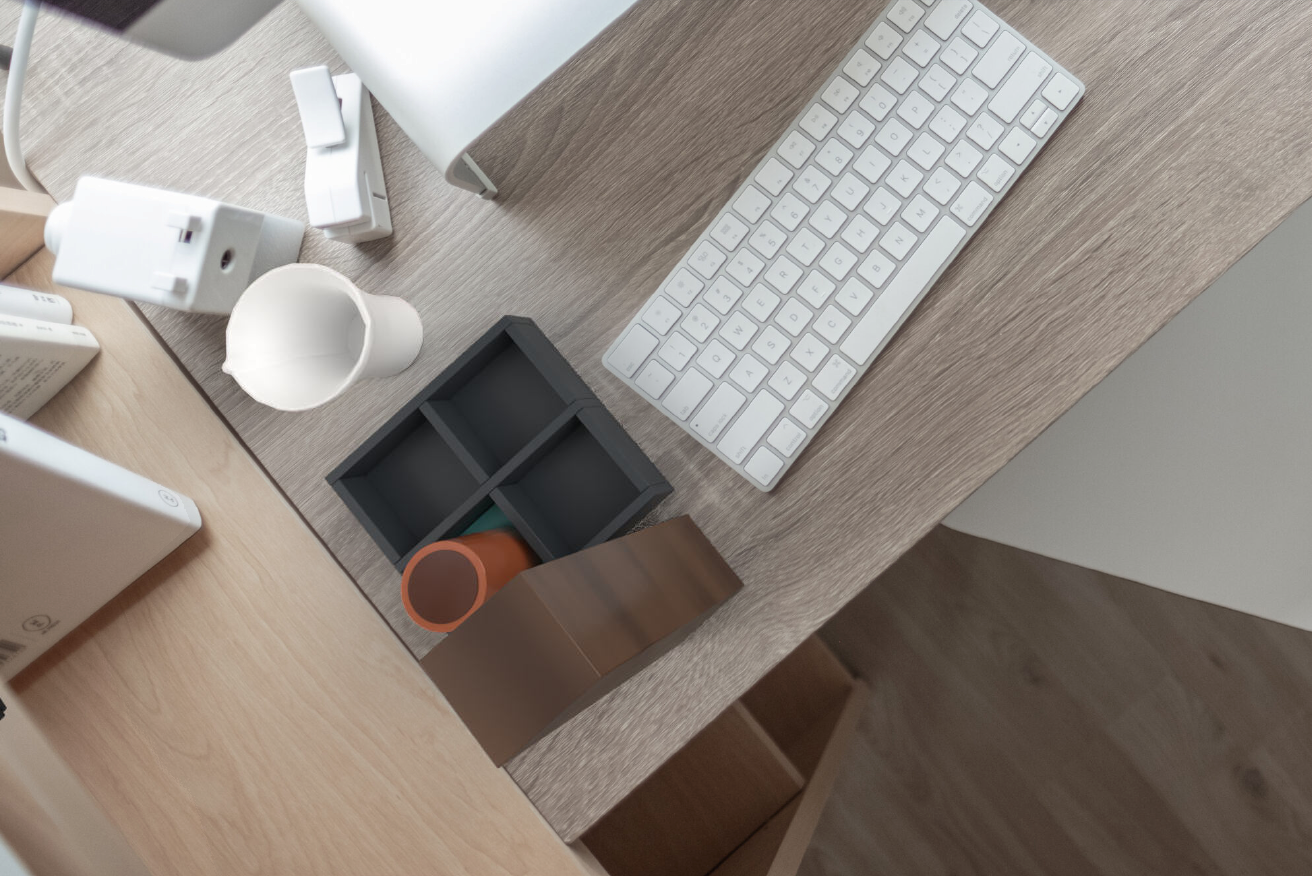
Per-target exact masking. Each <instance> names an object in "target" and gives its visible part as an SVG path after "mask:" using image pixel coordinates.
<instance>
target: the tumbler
mask: <svg viewBox="0 0 1312 876" xmlns="http://www.w3.org/2000/svg"><path fill="white" fill-rule="evenodd" d="M539 565H542V559H541V558H540V557H539V556H538V555H537V553H536V552H535V551H534V550H533V548H532V547H531V546H530V545H529V543H528V542H527V541H526V540H525V539H524V537H523V536H522V535H521V534H520V532H519V531H518V530H517V529H516V527H512V526H498V527H494V528H490V529H486V530H482V531H478V532H474V533H470V534H466V535H462V536H458V537H454V538H450V539H446V540H443V541H439V542H435V543H432V544H429V545H427V546H425V547H424V548H422V549H421V550H419V551H418V552H417V553H416V554H415V555H414V556H413V557H412V558H411V560H410V561H409V563H408V564H407V566H406V568H405V570H404V573H403V576H401V580H400V598H401V603H402V606H403V609H404V611H405V613H406V614H407V615H408V617H409V618H410V619H411V621H412V622H414V623H415V624H416V625H417V626H418V627H420V628H422V629H423V630H426V631H428V632H432V633H439V634H445V633H446V632H451V631H453V630H454V629H455V628H456V627H458V626H459V625H460V624H461V623H462V622H463V621H464V620H466V619H467V618H468V617H469V616H470V615H471V614H472V613H474V612H475V611H476V610H477V609H478V608H479V607H480V606H482V605H483V604H484V603H485V602H486V601H487V600H488V599H490V598H491V597H492V596H493V595H494V594H495V593H496V592H498V591H499V590H500V589H501V588H502V587H503V586H504V585H506V584H507V583H508V582H509V581H510V580H511V579H512V578H513V577H515V576H516V575H517V574H518V573H519V572H521V571H524V570H527V569H530V568H533V567H536V566H539Z"/></svg>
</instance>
